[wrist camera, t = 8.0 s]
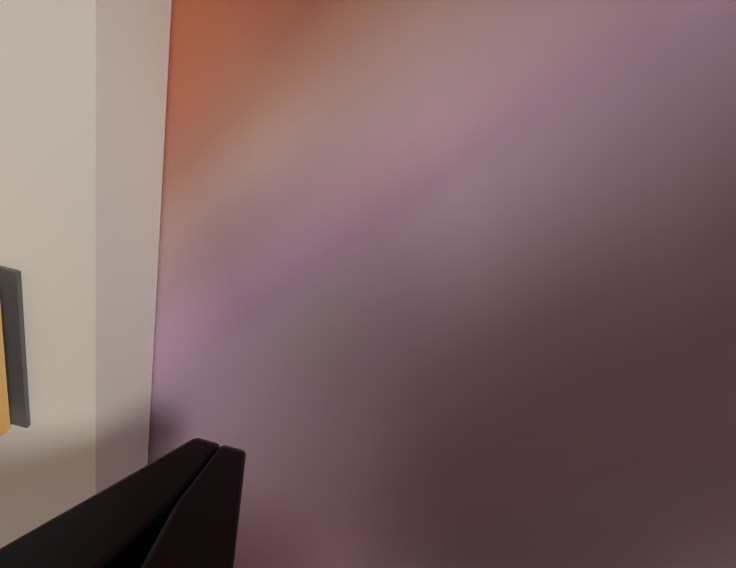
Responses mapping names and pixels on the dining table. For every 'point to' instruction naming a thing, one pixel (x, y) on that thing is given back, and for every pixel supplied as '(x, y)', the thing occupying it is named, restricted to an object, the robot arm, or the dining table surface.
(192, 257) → the dining table surface
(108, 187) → the breaker panel
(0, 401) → the handle
